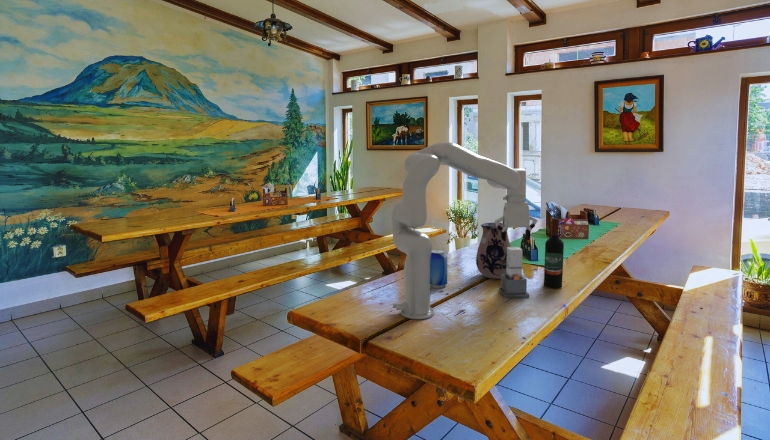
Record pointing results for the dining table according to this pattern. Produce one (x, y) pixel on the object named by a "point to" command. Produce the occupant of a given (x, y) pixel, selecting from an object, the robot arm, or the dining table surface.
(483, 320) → the dining table surface
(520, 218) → the robot arm
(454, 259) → the dining table surface
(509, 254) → the column
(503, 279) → the stand base
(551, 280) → the wine bottle
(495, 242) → the ceramic pitcher
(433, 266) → the beer can
